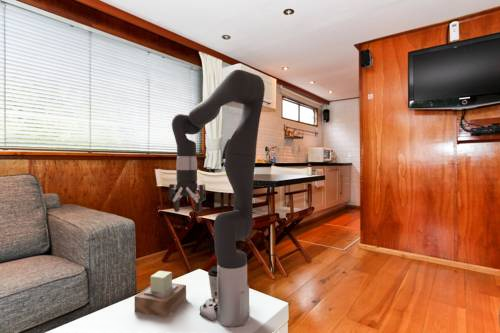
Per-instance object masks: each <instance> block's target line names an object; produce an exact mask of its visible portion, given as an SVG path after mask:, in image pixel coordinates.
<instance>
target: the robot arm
mask: <svg viewBox="0 0 500 333" xmlns="http://www.w3.org/2000/svg"><path fill="white" fill-rule="evenodd" d="M265 89H266V88H265V81H264V80H263V78H262V77H261V76H260V75H257V74H255V73H252V72H249V71H247V70H243V69H235V70H232V71H231V72H230V73H228V74H227V76H225V77H224V78H223V80H222V81H220V82H219V84H218V85H217V86H216V87H215V89H213V90H212V92H211V93H210V94H209V95H208V96H207V97H205V99H204V100H202V101H201V102H199V103H198V104H197V105H195V106H194V107H192V108H191V109H190V110H189V111H188V114H180V113H177V114H175V115H174V116H173V118H172V120H171V128H172V129H171V130H172V133H173V136H174V139H175V143H176V162H175V164H176V165H175V168H176V184H175V183H170V184H169V186H168V200H169V201H172V202H173V210H174V212H175V213H179V212H180V199H181V198H182V197H185V196H187V197H191V198H192V199H193V200H194V202H195V204H194V205H195V206H194V207H195V213H196V214H199V213H200V211H202V202H203V201H206V200H207V197H206V195H207V194H206V185H205V183H204V184H203V183H202V184H198V160H197V143H196V142H195V141H193V140H191V139H189V138H188V137H187V135H197V134H199V133H200V132H201V130H202V129H203V128H204V126H205V125H208V124H209V123H210V122H212V121H214V120H215V119H217V117H218V116H219V114H220V111H221V109H222V107H223V106H225V105H227V104H229V103H232V102H234V103H235V104H241V105H242V108H241V109H242V110H241V116H240V121H239V123H238V125H237V127H236V129H235V131H234V132H233V134H232V135H231V136H230V139H229V140H228V142H227V145H226V149H225V156H224V157H225V159H224V172H225V175H226V178H227V180H228V182H229V184H230V186H231V188H232V191H233V201H234V202H233V210H232V211H226V212H221V213H219V214H217V215H216V217H215V219H214V223H213V239H214V253H215V257H216V260H217V262H216V266H217V307H216V308H217V311H216V312H217V313H216V315H217V322H218V323H219V324H220V325H222V326H224V327H238V326H242V327H243V326H245V324H246V322H247V320H248V319H249V317H250V286H249V284H248V257H247V253H246V252H245V251H242V250H239V249H237V245H236V244H237V243H236V242H238V241H242V240H245V239H247V238H249V236H250V234H251V233H252V229H253V222H254V220H253V217H254V216H253V195H254V194H253V191H254V176H255V169H256V168H255V167H256V158H257V145H258V144H257V143H258V135H259V128H260V120H261V115H262V109H263V106H264V105H263V104H264V97H265V91H266V90H265ZM176 190H177V192H176ZM197 190H198V191H199V193H198V191H197Z"/></svg>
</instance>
